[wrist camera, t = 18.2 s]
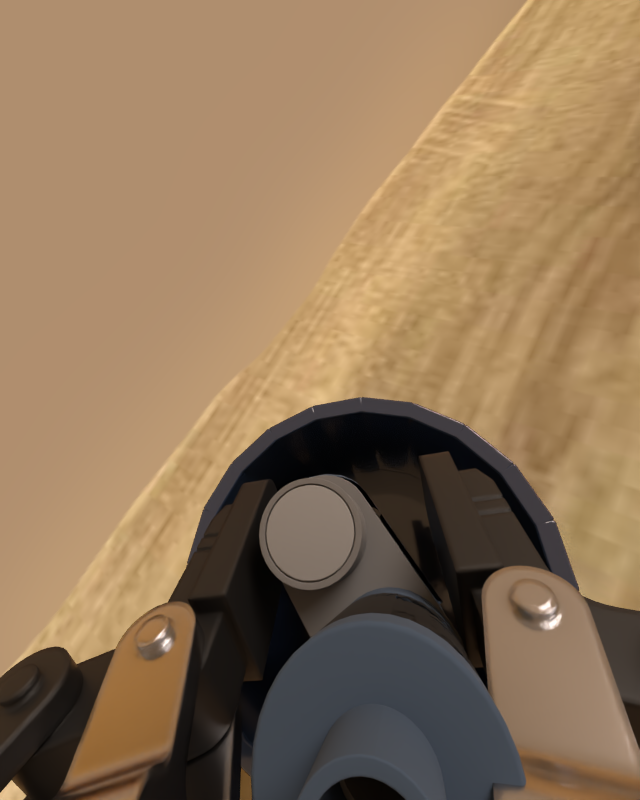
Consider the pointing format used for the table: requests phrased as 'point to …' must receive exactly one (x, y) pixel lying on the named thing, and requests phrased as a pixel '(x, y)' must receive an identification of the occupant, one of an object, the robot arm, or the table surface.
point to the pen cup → (374, 499)
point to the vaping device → (368, 667)
